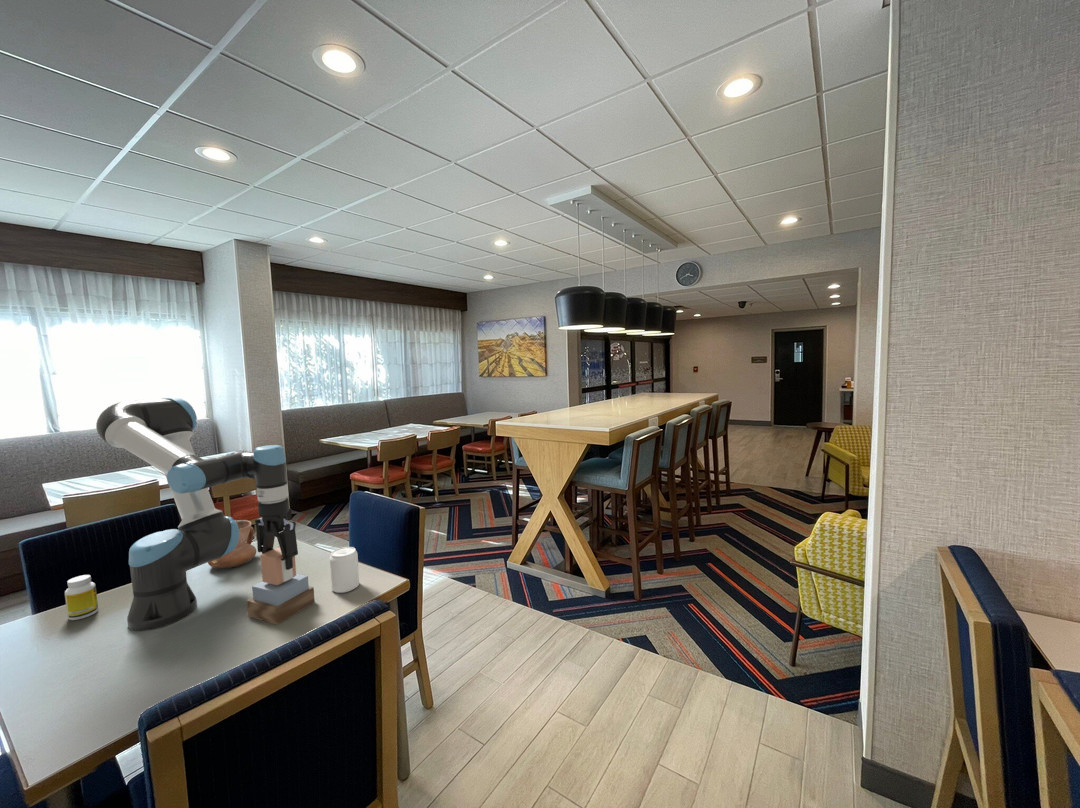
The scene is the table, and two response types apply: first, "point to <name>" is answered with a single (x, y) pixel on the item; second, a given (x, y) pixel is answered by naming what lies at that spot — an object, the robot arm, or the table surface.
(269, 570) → the terracotta block
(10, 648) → the table surface
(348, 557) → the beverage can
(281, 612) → the walnut block
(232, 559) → the ceramic jug
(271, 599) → the slate block
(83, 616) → the pill bottle
